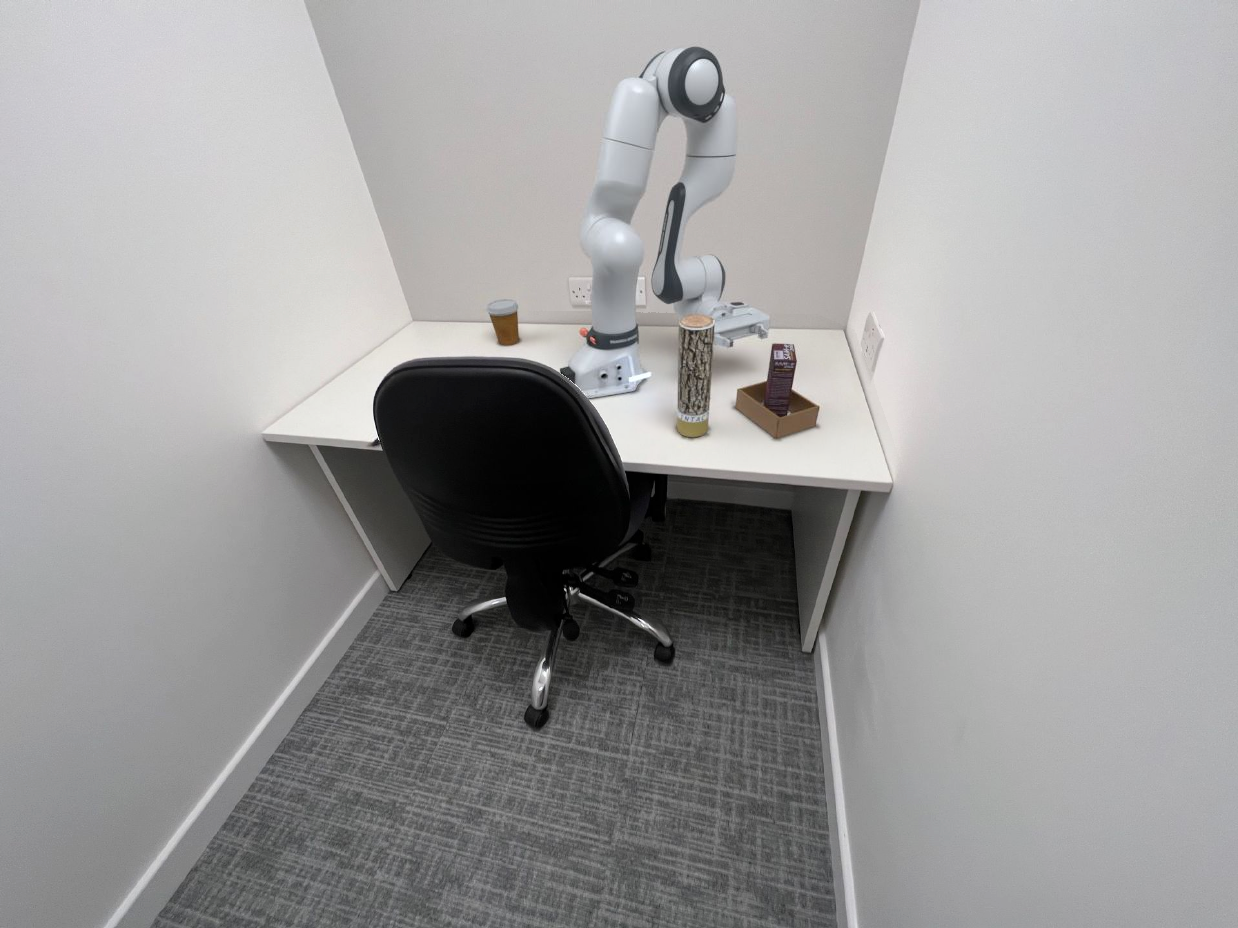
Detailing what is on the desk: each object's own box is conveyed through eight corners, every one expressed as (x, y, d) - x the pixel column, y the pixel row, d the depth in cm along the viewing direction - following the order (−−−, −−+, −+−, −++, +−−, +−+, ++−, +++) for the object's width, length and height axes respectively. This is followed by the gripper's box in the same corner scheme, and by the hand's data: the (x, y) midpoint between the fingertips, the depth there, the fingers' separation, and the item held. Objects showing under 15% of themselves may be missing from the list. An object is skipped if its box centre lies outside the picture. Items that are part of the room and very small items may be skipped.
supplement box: (786, 427, 108) (797, 360, 99) (763, 426, 109) (772, 359, 100) (783, 407, 115) (794, 343, 106) (762, 406, 116) (771, 342, 107)
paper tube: (674, 423, 112) (676, 316, 97) (704, 420, 112) (710, 313, 98) (679, 440, 107) (682, 328, 92) (710, 437, 107) (718, 325, 92)
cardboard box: (776, 439, 105) (779, 419, 102) (735, 407, 116) (737, 389, 113) (815, 426, 108) (819, 406, 105) (771, 397, 119) (774, 378, 116)
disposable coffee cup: (530, 338, 157) (523, 301, 150) (509, 349, 151) (502, 311, 144) (508, 333, 162) (501, 297, 154) (487, 344, 155) (478, 306, 148)
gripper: (678, 316, 118) (709, 336, 108) (750, 300, 124) (786, 317, 114) (678, 341, 122) (708, 363, 112) (748, 324, 128) (782, 343, 118)
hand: (748, 339), depth 113 cm, fingers open, 8 cm apart
